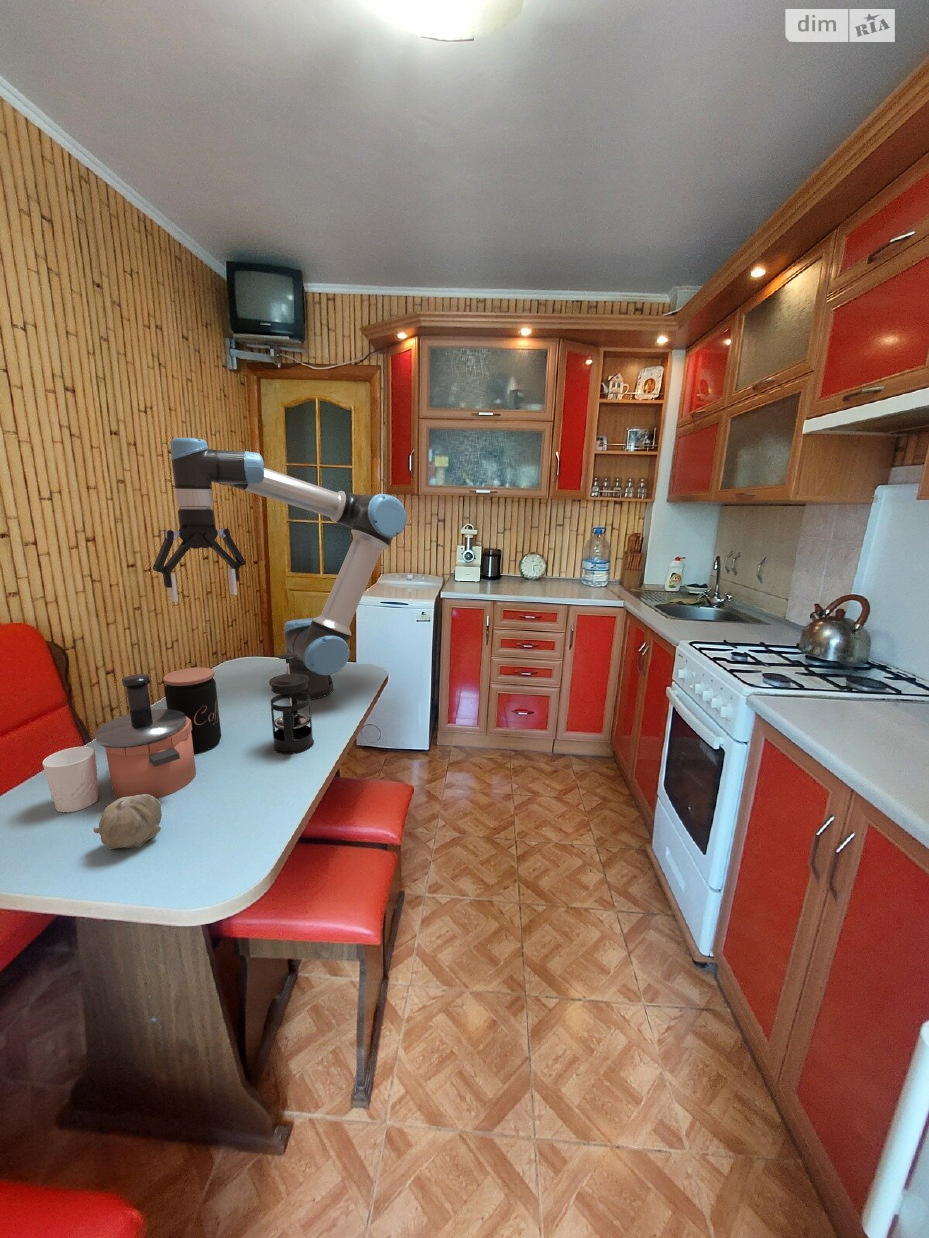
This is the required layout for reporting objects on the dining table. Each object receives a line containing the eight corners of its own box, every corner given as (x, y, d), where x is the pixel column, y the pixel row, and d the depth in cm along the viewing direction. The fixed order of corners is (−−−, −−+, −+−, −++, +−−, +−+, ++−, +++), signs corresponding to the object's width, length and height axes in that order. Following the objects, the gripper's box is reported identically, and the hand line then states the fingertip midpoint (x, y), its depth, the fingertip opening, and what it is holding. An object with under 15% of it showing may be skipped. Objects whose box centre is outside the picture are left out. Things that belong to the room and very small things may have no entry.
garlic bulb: (163, 842, 90) (179, 791, 90) (134, 868, 82) (151, 812, 81) (112, 827, 90) (127, 775, 89) (77, 852, 81) (94, 794, 81)
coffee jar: (201, 757, 115) (192, 684, 111) (161, 752, 117) (151, 680, 113) (231, 737, 125) (224, 668, 121) (194, 732, 127) (186, 665, 123)
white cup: (74, 790, 101) (65, 745, 99) (112, 792, 101) (104, 746, 99) (40, 814, 94) (30, 766, 91) (81, 815, 94) (73, 767, 91)
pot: (101, 775, 107) (92, 723, 104) (177, 751, 118) (171, 703, 115) (128, 818, 93) (118, 759, 90) (212, 786, 104) (206, 733, 101)
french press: (277, 736, 126) (270, 649, 121) (316, 733, 128) (310, 647, 122) (268, 759, 115) (260, 664, 109) (311, 756, 116) (305, 662, 111)
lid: (173, 714, 113) (166, 660, 110) (198, 736, 103) (191, 678, 100) (89, 737, 102) (79, 677, 99) (108, 764, 92) (97, 699, 89)
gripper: (242, 508, 128) (249, 589, 133) (129, 507, 110) (142, 602, 115) (255, 508, 123) (262, 593, 128) (138, 508, 105) (151, 606, 110)
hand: (205, 597), depth 122 cm, fingers open, 13 cm apart
